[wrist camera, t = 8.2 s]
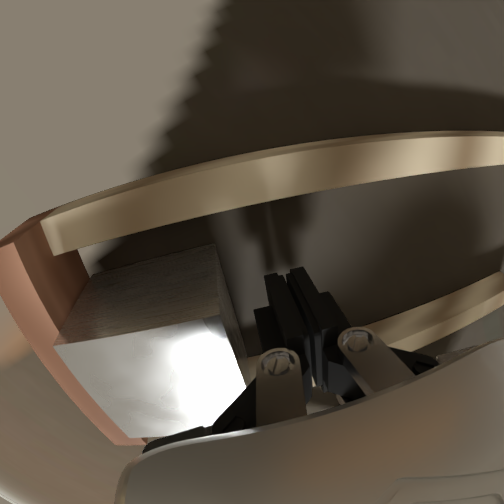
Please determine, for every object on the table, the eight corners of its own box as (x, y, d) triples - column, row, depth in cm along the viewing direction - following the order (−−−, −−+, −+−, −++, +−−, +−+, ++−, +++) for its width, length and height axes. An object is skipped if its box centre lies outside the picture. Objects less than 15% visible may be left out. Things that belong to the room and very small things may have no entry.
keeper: (214, 243, 13) (219, 314, 8) (244, 344, 15) (259, 421, 11) (92, 274, 12) (52, 346, 8) (141, 364, 15) (129, 438, 11)
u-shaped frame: (514, 132, 12) (560, 145, 8) (495, 286, 17) (526, 314, 14) (29, 218, 11) (-19, 255, 7) (124, 393, 16) (115, 445, 13)
